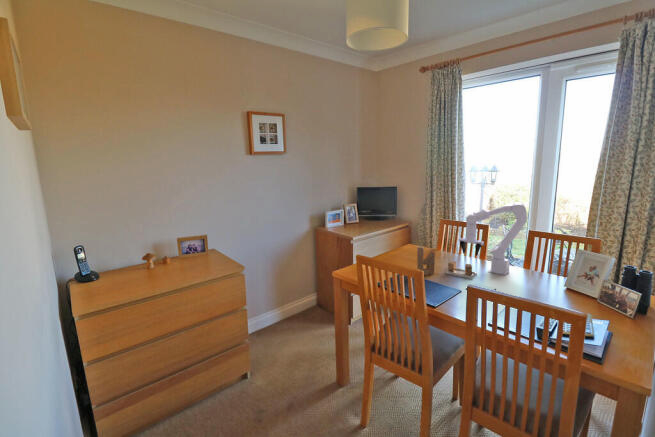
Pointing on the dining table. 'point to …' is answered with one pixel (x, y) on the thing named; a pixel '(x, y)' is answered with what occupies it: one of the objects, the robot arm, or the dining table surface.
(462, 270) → the rail
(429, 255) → the wooden block
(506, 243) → the robot arm
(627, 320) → the dining table surface
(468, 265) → the tan cardboard box
